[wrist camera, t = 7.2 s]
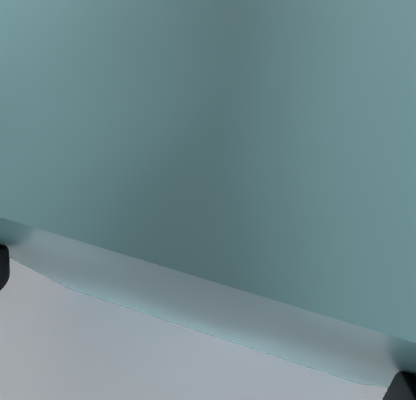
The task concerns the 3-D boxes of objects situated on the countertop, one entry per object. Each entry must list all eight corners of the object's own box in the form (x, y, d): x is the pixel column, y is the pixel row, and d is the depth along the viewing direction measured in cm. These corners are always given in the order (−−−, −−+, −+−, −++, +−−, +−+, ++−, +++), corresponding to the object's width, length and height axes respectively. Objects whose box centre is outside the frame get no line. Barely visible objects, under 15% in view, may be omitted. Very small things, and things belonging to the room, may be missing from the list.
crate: (358, 383, 13) (676, 422, 4) (69, 288, 15) (-163, 167, 6) (381, 180, 17) (575, -42, 8) (147, 123, 18) (79, -109, 9)
